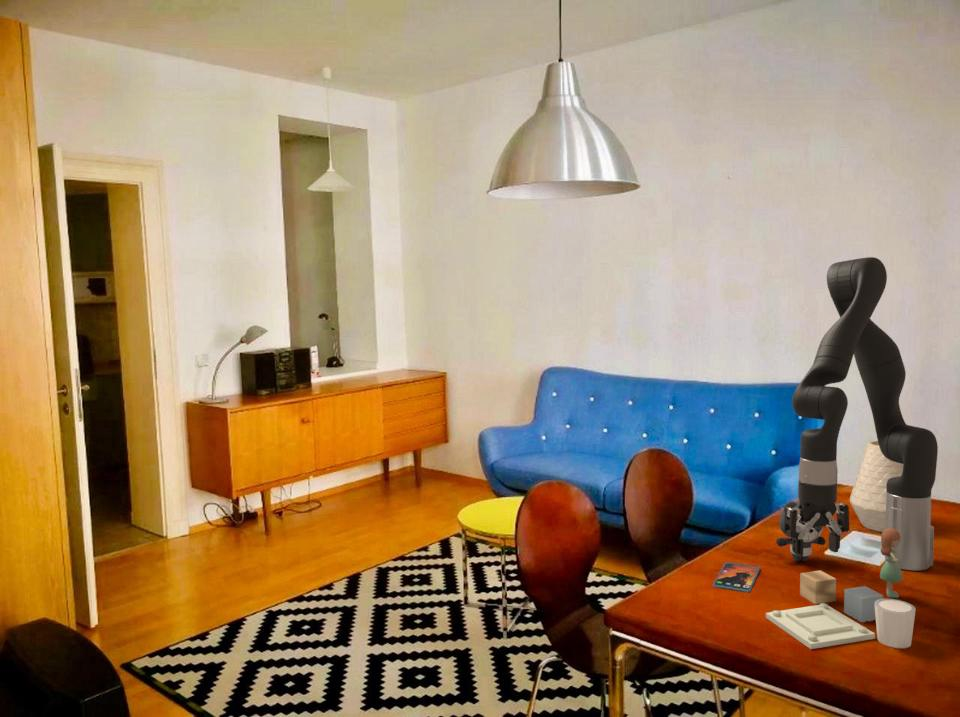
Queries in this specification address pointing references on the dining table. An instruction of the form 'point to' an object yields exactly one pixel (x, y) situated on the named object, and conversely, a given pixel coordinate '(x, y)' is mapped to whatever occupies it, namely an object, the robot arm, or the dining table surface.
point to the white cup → (894, 622)
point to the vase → (873, 487)
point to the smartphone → (737, 577)
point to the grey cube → (861, 603)
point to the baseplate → (819, 626)
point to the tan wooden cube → (818, 587)
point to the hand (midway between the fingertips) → (815, 553)
